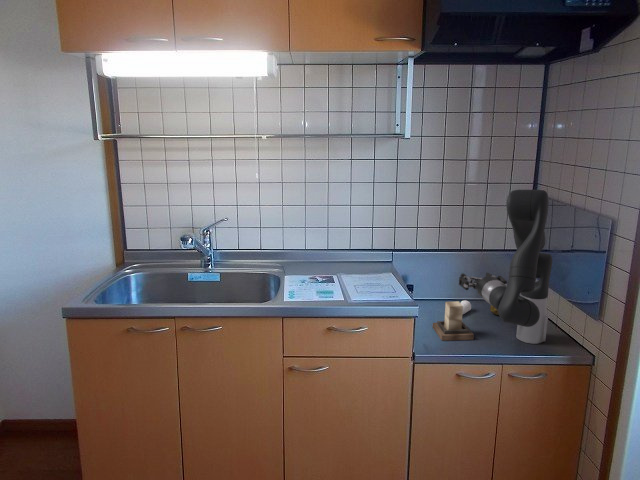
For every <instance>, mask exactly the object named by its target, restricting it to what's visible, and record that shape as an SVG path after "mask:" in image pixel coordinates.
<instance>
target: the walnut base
mask: <svg viewBox="0 0 640 480" xmlns="http://www.w3.org/2000/svg"><path fill="white" fill-rule="evenodd" d="M444 322H445V320H437V321H436V322H432V329H433V331H434V332H435V333H436V334H437V336H438V337H439V339H440V340H441V342H442V341H465V340H466V341H468V340H469V341H470V340H473V341H474V338H475V335H474V333H473V332H472V330H470V328H469V327H468V326H467V325H466V324H465V323H464V322H463V321H462V329H460V330H447V329H446V328H445V326H444Z"/></svg>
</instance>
